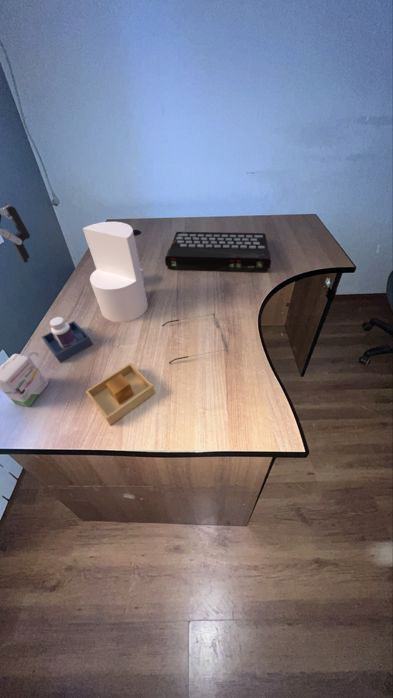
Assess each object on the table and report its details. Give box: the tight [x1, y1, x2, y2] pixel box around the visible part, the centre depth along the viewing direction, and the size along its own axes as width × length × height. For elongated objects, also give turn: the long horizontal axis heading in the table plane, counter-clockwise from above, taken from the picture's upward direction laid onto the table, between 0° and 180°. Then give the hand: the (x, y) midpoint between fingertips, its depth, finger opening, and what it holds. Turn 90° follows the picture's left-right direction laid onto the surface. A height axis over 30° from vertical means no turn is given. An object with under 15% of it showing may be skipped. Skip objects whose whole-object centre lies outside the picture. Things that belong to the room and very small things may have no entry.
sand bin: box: [85, 362, 156, 426], centre depth 72 cm, size 14×11×4 cm
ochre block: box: [106, 374, 134, 404], centre depth 71 cm, size 5×5×5 cm
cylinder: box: [82, 221, 149, 323], centre depth 90 cm, size 17×17×28 cm
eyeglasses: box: [161, 312, 229, 364], centre depth 86 cm, size 18×19×4 cm
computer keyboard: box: [164, 231, 272, 273], centre depth 123 cm, size 45×28×7 cm, turn 84°
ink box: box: [0, 353, 49, 408], centre depth 70 cm, size 8×5×12 cm, turn 164°
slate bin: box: [41, 320, 94, 363], centre depth 86 cm, size 11×11×4 cm
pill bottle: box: [49, 316, 77, 349], centre depth 83 cm, size 5×5×10 cm
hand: (3, 268), depth 54 cm, fingers open, 8 cm apart
